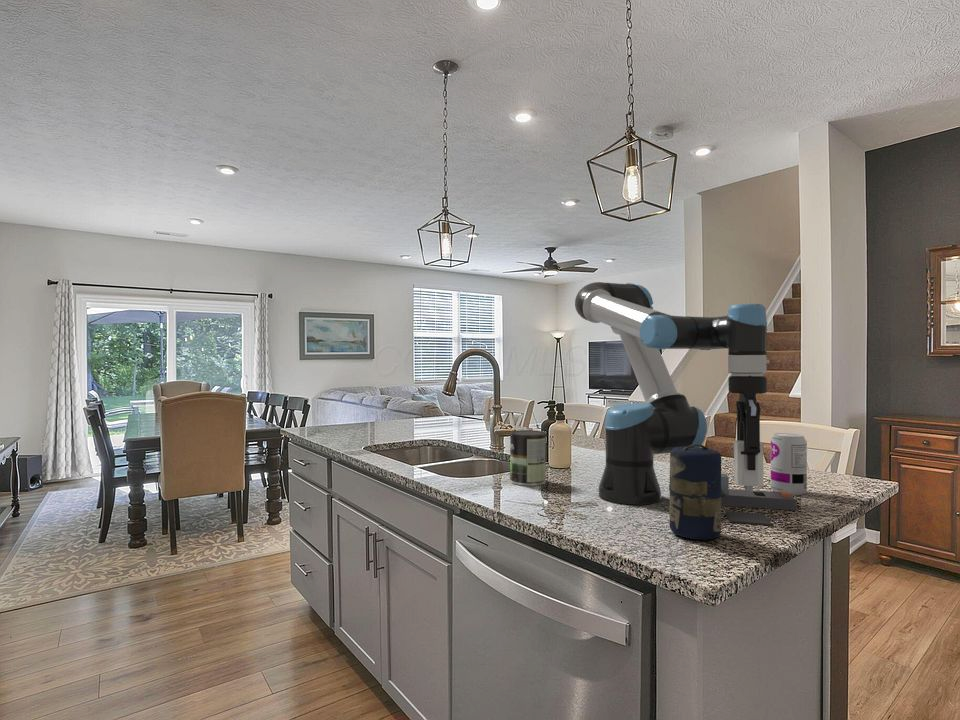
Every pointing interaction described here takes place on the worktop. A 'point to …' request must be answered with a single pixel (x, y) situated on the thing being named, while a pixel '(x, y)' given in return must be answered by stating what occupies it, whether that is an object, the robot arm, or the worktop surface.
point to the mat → (747, 518)
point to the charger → (739, 465)
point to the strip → (755, 497)
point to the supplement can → (789, 463)
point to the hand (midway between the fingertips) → (748, 482)
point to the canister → (695, 492)
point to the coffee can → (527, 457)
